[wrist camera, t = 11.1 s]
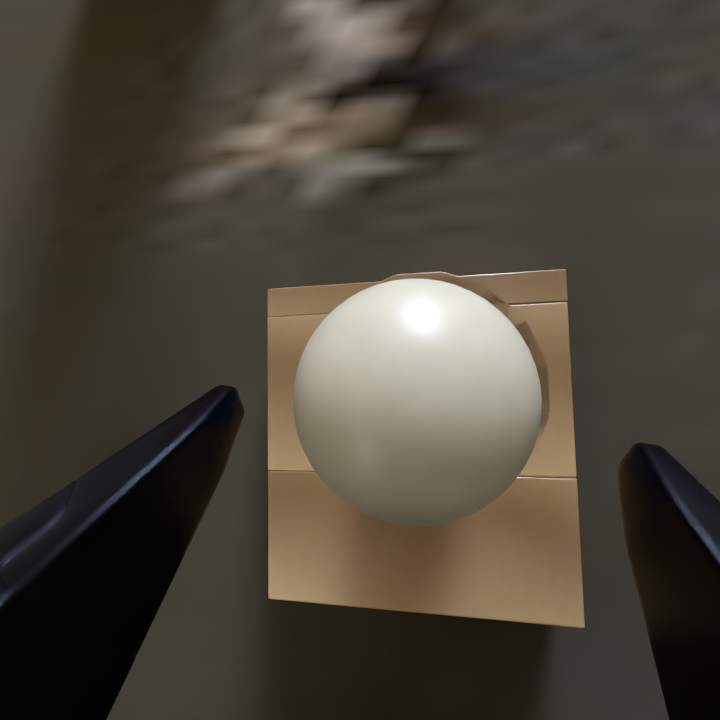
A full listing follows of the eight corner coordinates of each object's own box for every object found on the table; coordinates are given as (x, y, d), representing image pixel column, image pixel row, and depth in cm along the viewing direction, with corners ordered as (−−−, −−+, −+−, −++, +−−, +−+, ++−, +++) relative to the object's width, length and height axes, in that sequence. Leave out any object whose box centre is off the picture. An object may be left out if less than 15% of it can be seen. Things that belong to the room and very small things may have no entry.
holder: (556, 583, 16) (585, 629, 13) (293, 564, 18) (267, 599, 15) (542, 282, 17) (566, 262, 14) (292, 298, 19) (267, 283, 16)
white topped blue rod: (467, 430, 17) (598, 595, 4) (381, 429, 18) (246, 566, 5) (465, 344, 17) (579, 225, 4) (380, 346, 18) (247, 252, 5)
